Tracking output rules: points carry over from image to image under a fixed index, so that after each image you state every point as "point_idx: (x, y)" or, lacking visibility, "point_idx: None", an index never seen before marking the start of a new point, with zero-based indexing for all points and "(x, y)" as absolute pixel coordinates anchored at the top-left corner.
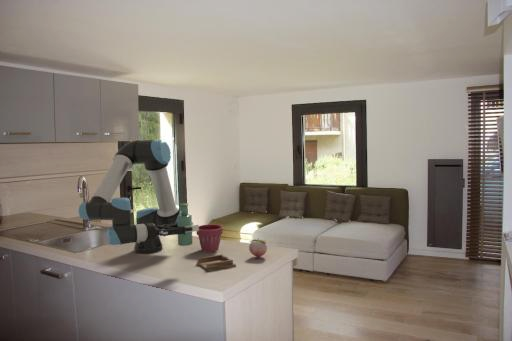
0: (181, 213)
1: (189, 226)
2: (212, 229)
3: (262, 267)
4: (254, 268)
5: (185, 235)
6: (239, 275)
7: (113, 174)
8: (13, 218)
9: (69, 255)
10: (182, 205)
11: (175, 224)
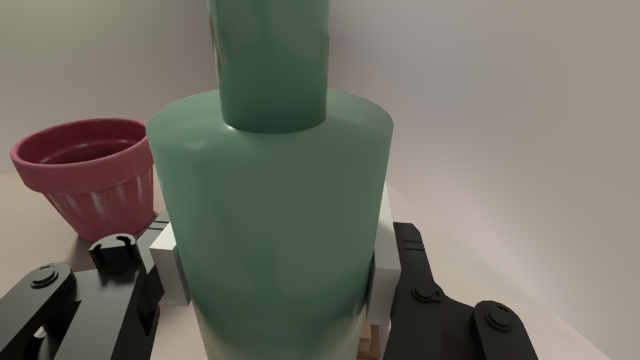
0: (261, 82)
1: (391, 229)
2: (78, 142)
3: (417, 210)
4: (417, 226)
5: (359, 337)
6: (481, 288)
7: None
8: None
9: None
10: None
11: (118, 298)
